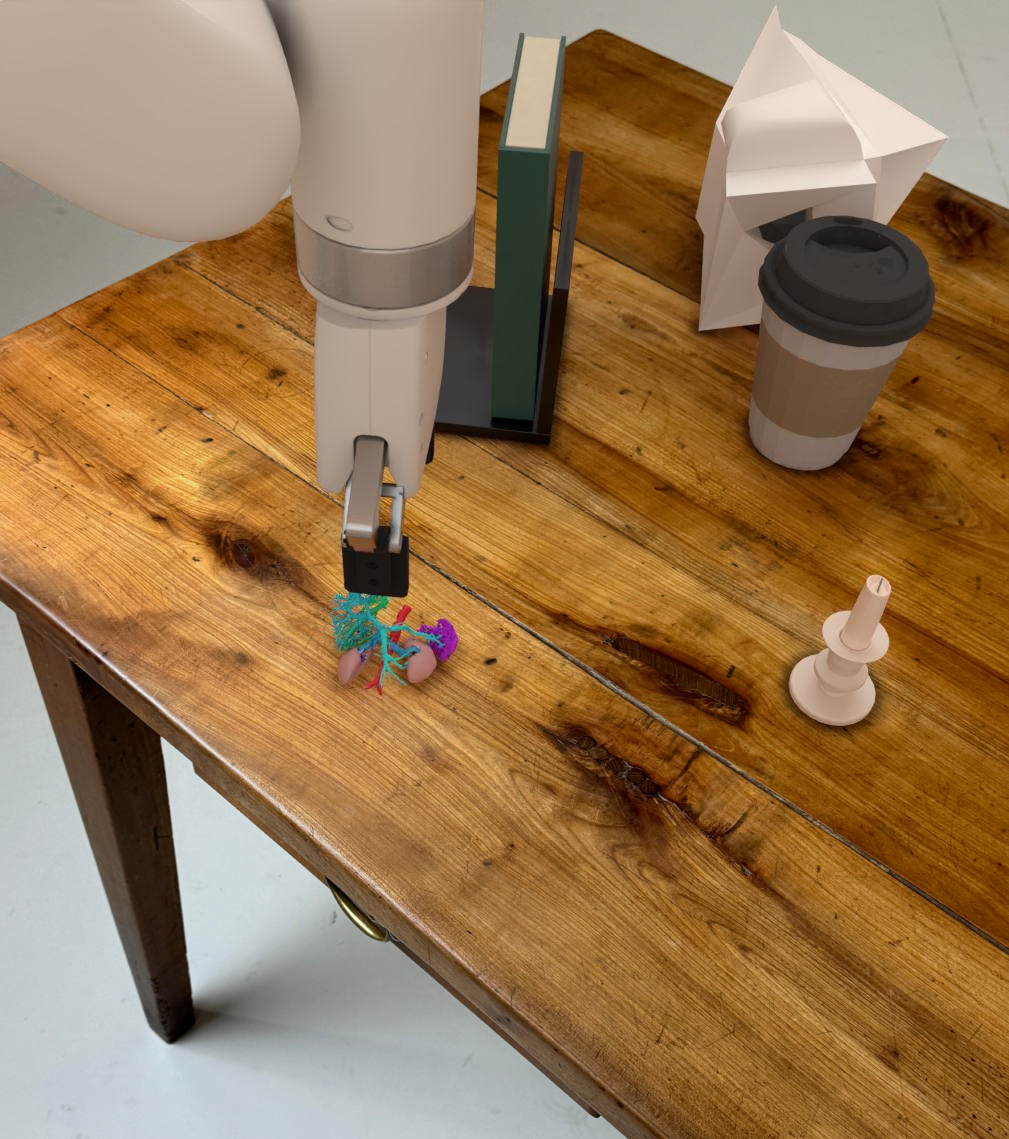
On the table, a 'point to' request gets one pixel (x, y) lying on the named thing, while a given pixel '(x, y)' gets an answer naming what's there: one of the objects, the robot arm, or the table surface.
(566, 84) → the table surface
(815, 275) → the coffee cup
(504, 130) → the book
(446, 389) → the book stand
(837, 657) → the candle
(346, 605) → the anatomy model
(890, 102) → the folded paper
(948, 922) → the table surface
